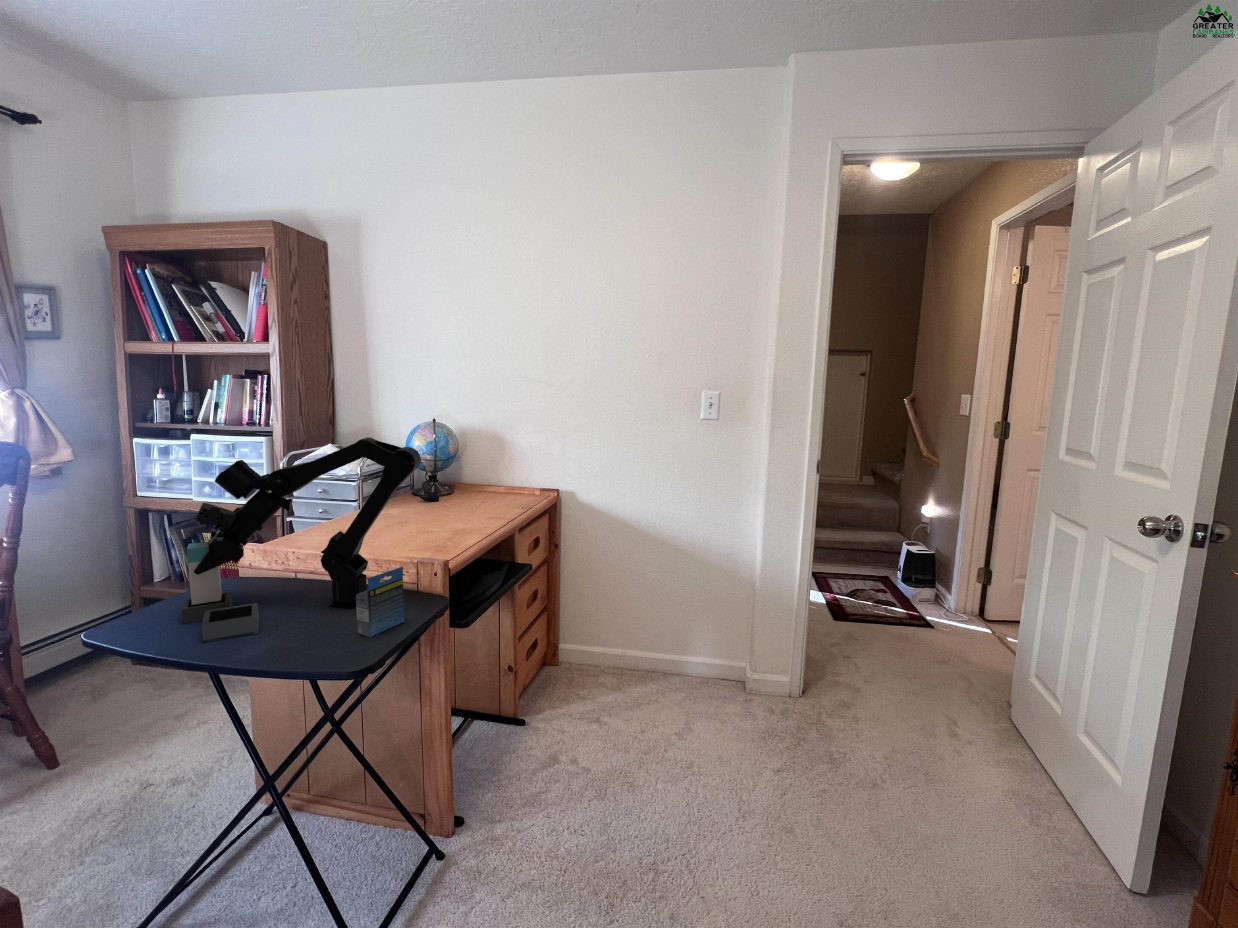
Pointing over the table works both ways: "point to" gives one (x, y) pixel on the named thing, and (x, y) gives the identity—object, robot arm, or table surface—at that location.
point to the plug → (202, 576)
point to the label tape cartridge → (381, 604)
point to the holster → (203, 608)
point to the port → (230, 622)
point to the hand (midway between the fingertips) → (196, 570)
